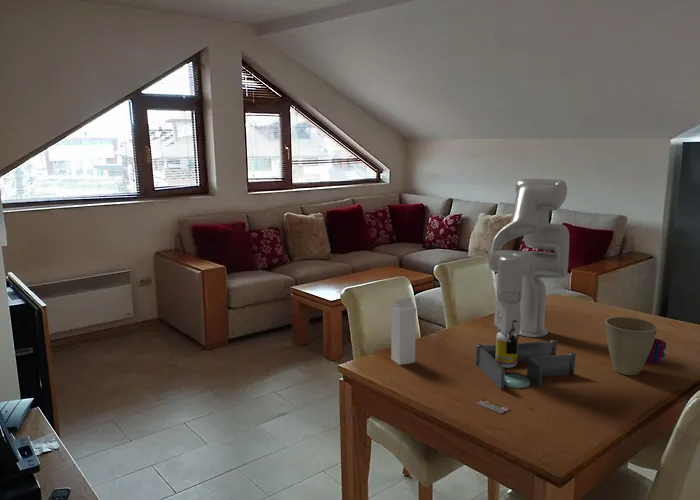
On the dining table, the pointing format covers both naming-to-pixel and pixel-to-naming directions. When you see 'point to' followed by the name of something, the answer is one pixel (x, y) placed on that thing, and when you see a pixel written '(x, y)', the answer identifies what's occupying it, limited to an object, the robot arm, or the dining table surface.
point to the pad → (516, 381)
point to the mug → (657, 352)
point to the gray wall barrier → (534, 353)
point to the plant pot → (629, 343)
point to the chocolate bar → (493, 407)
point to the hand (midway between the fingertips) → (506, 348)
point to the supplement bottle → (504, 351)
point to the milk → (403, 331)
